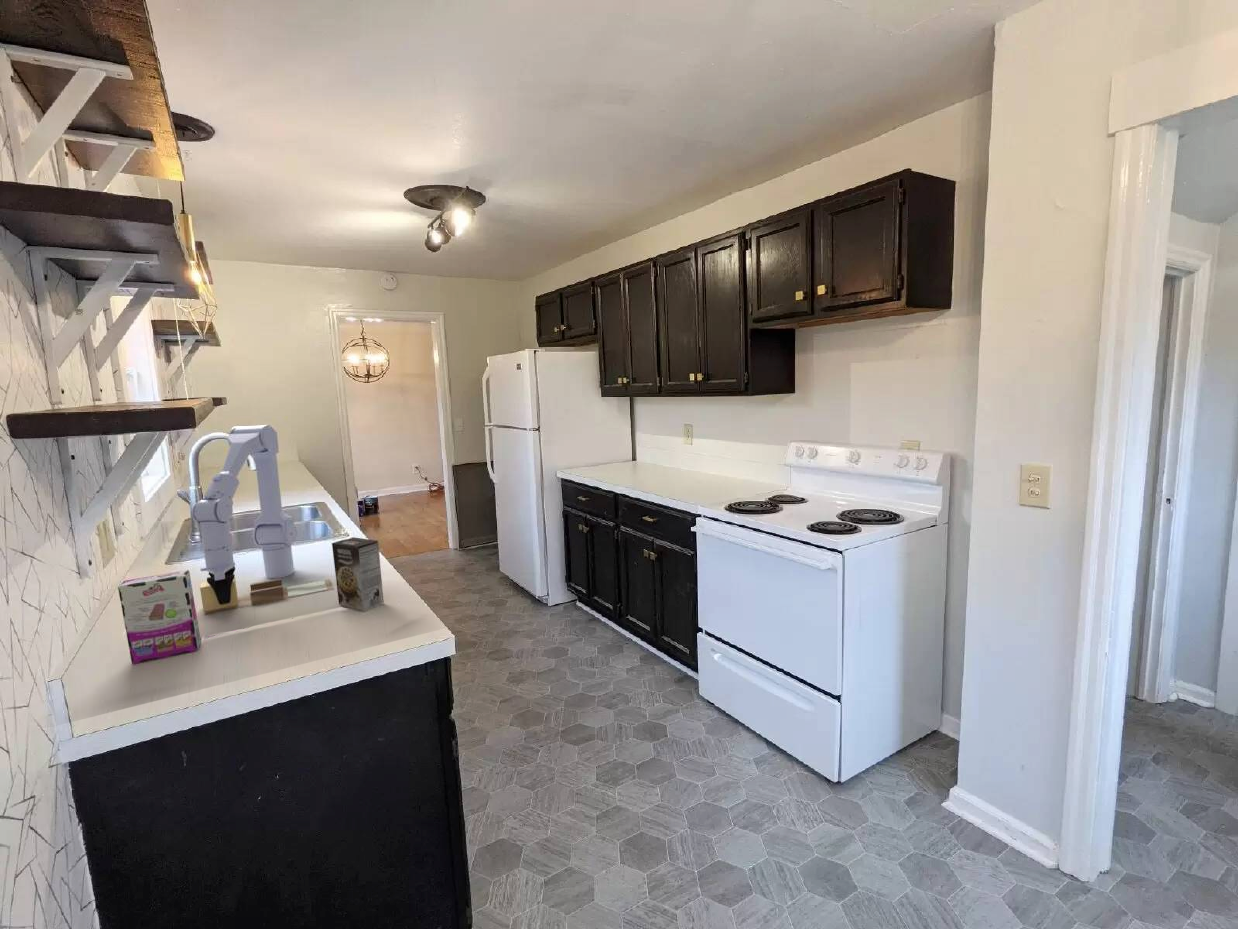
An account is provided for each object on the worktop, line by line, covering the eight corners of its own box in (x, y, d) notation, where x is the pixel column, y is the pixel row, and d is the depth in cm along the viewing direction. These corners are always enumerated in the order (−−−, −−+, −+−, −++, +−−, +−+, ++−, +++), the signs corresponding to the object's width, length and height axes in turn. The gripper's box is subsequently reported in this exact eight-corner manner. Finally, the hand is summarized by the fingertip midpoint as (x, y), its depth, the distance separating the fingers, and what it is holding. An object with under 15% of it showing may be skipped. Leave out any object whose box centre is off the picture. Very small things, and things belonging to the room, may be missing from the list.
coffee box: (337, 607, 146) (330, 543, 144) (360, 598, 152) (353, 536, 149) (363, 612, 142) (356, 546, 140) (385, 603, 147) (378, 539, 145)
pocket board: (208, 605, 151) (206, 591, 151) (330, 582, 166) (328, 568, 165) (205, 618, 143) (203, 602, 142) (334, 592, 157) (332, 578, 157)
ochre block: (204, 606, 149) (201, 582, 148) (238, 599, 152) (234, 577, 151) (203, 611, 145) (199, 587, 144) (237, 605, 149) (234, 581, 148)
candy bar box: (201, 642, 129) (190, 569, 126) (198, 651, 124) (186, 575, 122) (136, 655, 124) (123, 579, 121) (130, 665, 119) (116, 586, 117)
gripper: (200, 544, 151) (207, 595, 153) (195, 557, 139) (203, 613, 141) (233, 539, 155) (240, 589, 157) (231, 551, 142) (239, 606, 144)
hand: (225, 600), depth 149 cm, fingers closed on ochre block, 4 cm apart
